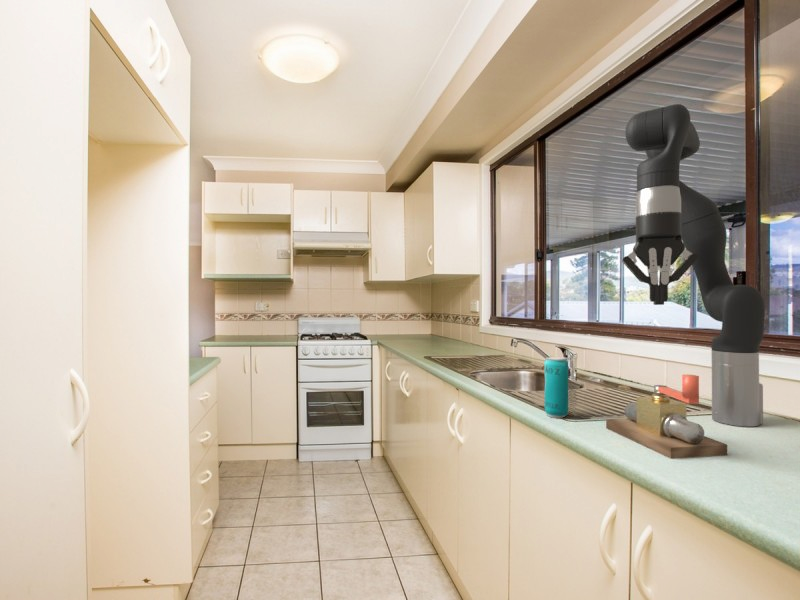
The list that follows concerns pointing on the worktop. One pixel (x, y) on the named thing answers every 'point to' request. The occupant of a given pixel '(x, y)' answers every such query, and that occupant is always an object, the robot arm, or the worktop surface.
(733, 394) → the robot arm
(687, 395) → the valve lever
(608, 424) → the valve board
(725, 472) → the worktop surface
